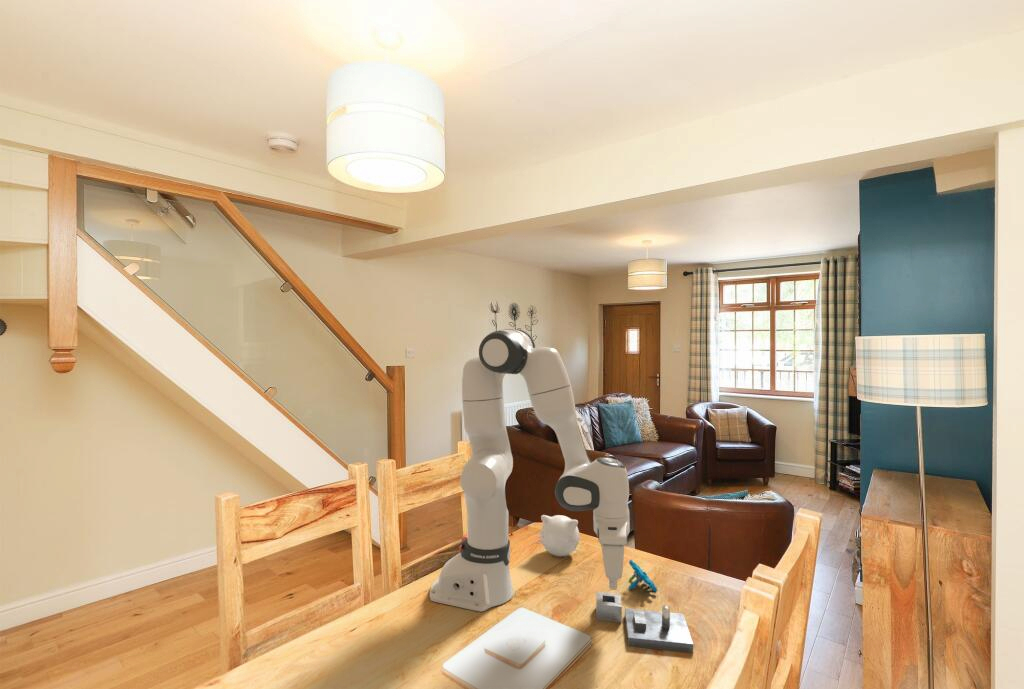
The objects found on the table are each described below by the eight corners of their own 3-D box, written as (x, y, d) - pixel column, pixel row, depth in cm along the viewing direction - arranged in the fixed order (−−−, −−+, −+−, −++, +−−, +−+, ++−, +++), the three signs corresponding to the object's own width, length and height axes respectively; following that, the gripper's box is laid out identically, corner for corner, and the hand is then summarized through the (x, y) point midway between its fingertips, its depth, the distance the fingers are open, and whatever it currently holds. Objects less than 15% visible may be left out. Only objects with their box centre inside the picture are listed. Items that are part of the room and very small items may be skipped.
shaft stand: (628, 646, 113) (628, 617, 113) (624, 616, 125) (625, 590, 125) (693, 652, 111) (693, 624, 111) (683, 621, 123) (683, 595, 123)
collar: (596, 620, 123) (596, 604, 123) (596, 607, 129) (596, 591, 129) (621, 622, 122) (621, 606, 122) (619, 609, 128) (620, 593, 128)
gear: (662, 593, 133) (635, 564, 134) (646, 609, 133) (619, 580, 134) (654, 579, 144) (629, 552, 145) (639, 593, 144) (614, 566, 145)
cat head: (587, 549, 163) (588, 512, 163) (578, 567, 151) (578, 527, 150) (543, 542, 168) (544, 506, 168) (530, 558, 156) (531, 519, 156)
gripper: (597, 508, 136) (598, 559, 136) (599, 540, 116) (600, 599, 116) (621, 509, 135) (622, 560, 135) (627, 541, 115) (628, 601, 115)
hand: (612, 578), depth 125 cm, fingers open, 8 cm apart
